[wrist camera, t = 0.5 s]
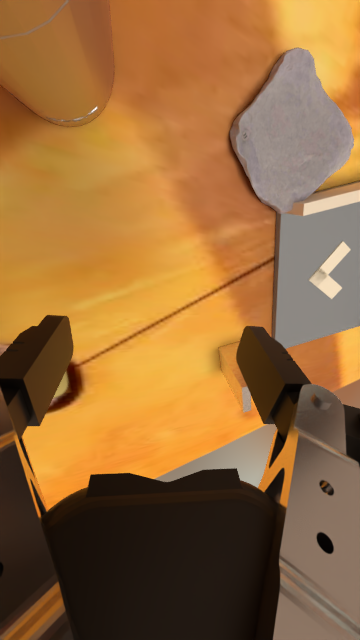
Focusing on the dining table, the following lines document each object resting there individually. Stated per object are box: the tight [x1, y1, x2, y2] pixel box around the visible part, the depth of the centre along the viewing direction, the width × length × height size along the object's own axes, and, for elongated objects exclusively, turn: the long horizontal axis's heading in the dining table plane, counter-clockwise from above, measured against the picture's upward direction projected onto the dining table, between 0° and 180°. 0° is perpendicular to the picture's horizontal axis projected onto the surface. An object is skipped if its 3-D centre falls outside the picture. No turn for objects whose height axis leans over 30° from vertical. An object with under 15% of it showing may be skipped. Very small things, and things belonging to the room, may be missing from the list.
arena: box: [272, 181, 360, 348], centre depth 32 cm, size 24×18×5 cm
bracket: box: [218, 341, 251, 413], centre depth 35 cm, size 6×6×9 cm
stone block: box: [230, 48, 354, 214], centre depth 24 cm, size 12×5×10 cm
